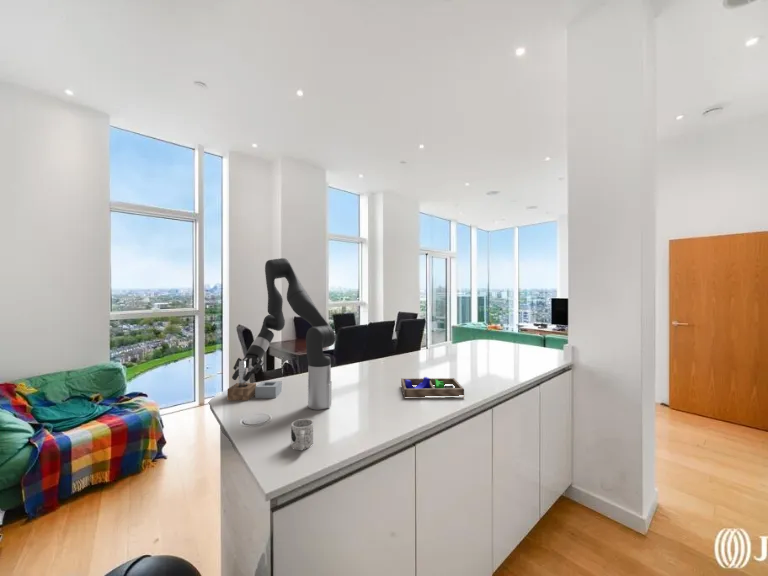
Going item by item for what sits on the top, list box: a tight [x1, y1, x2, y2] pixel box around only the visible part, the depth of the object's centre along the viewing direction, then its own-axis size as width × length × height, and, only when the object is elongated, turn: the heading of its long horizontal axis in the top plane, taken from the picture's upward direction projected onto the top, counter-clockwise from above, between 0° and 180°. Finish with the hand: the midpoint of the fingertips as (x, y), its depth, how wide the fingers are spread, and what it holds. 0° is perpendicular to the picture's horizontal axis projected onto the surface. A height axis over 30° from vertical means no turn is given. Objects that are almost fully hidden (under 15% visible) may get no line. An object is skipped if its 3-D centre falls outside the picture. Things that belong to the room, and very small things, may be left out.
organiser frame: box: [400, 377, 465, 398], centre depth 150 cm, size 27×18×4 cm, turn 91°
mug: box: [290, 418, 314, 451], centre depth 96 cm, size 10×7×7 cm
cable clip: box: [405, 376, 431, 389], centre depth 150 cm, size 12×4×6 cm, turn 118°
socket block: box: [254, 380, 283, 399], centre depth 145 cm, size 9×9×5 cm
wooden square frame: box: [226, 382, 257, 401], centre depth 142 cm, size 9×9×5 cm
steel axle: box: [238, 361, 247, 387], centre depth 142 cm, size 3×3×16 cm
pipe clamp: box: [434, 379, 445, 389], centre depth 150 cm, size 11×4×5 cm, turn 173°
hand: (239, 379), depth 140 cm, fingers open, 5 cm apart
